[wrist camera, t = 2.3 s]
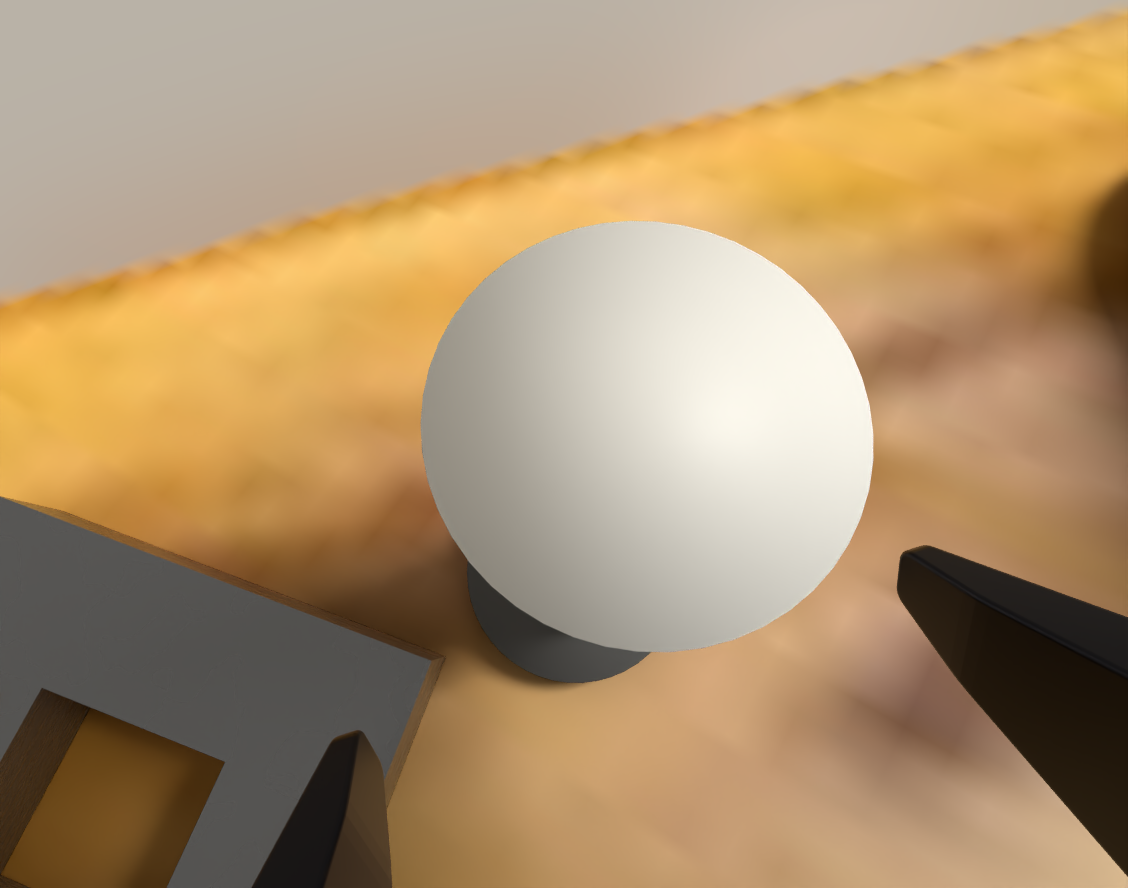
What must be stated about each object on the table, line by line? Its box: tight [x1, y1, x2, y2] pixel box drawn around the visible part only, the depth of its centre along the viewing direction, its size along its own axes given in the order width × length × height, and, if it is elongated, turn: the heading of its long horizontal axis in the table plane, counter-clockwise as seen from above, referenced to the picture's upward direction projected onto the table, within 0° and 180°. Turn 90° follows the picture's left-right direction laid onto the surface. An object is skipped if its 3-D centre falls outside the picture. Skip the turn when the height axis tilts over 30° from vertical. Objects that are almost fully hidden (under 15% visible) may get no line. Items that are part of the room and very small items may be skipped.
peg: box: [421, 221, 873, 652], centre depth 13 cm, size 4×4×15 cm
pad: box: [467, 561, 650, 683], centre depth 20 cm, size 7×7×1 cm
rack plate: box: [0, 496, 446, 888], centre depth 17 cm, size 14×14×3 cm
